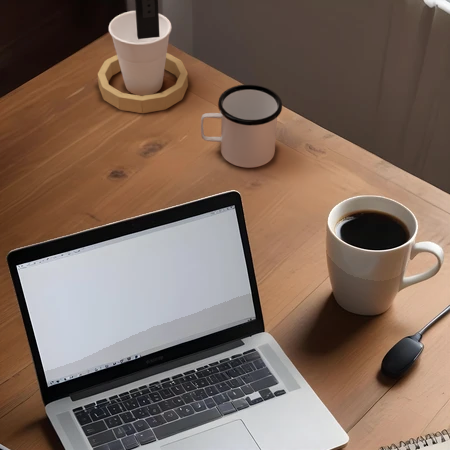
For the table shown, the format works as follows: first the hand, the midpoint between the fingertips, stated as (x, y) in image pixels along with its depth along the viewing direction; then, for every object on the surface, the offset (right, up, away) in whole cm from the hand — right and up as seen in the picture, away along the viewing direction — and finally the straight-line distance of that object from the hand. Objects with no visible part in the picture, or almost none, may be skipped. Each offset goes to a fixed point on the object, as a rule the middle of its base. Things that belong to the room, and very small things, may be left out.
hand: (139, 8), depth 109 cm
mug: (+13, -14, +21) cm, 29 cm away
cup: (-2, -1, +31) cm, 31 cm away
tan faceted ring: (-2, -1, +31) cm, 31 cm away
